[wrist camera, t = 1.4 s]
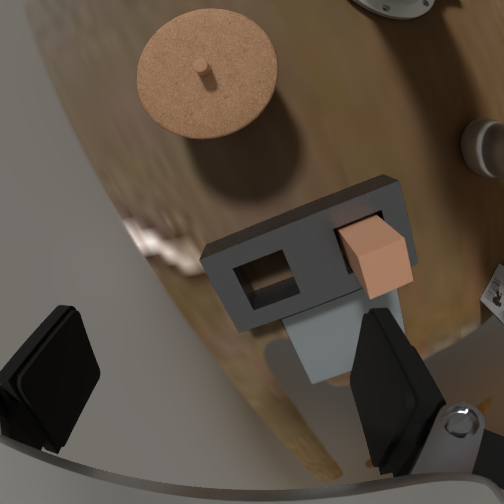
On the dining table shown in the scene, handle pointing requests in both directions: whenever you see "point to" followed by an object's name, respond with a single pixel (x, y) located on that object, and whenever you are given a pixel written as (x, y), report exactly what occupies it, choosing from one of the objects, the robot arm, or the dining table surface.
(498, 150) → the plastic bottle
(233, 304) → the socket plate
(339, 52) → the dining table surface
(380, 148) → the dining table surface
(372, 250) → the plug
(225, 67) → the lidded jar
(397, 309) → the mat
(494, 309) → the coffee box
